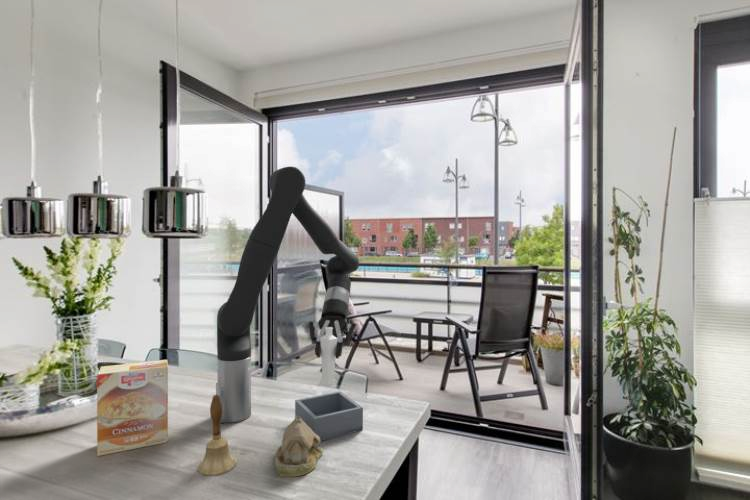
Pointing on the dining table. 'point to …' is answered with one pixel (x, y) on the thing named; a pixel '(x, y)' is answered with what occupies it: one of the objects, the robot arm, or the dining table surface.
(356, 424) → the tote
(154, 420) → the coffeecake box
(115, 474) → the dining table surface
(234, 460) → the hand bell
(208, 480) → the dining table surface
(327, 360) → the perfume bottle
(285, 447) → the ceramic model
